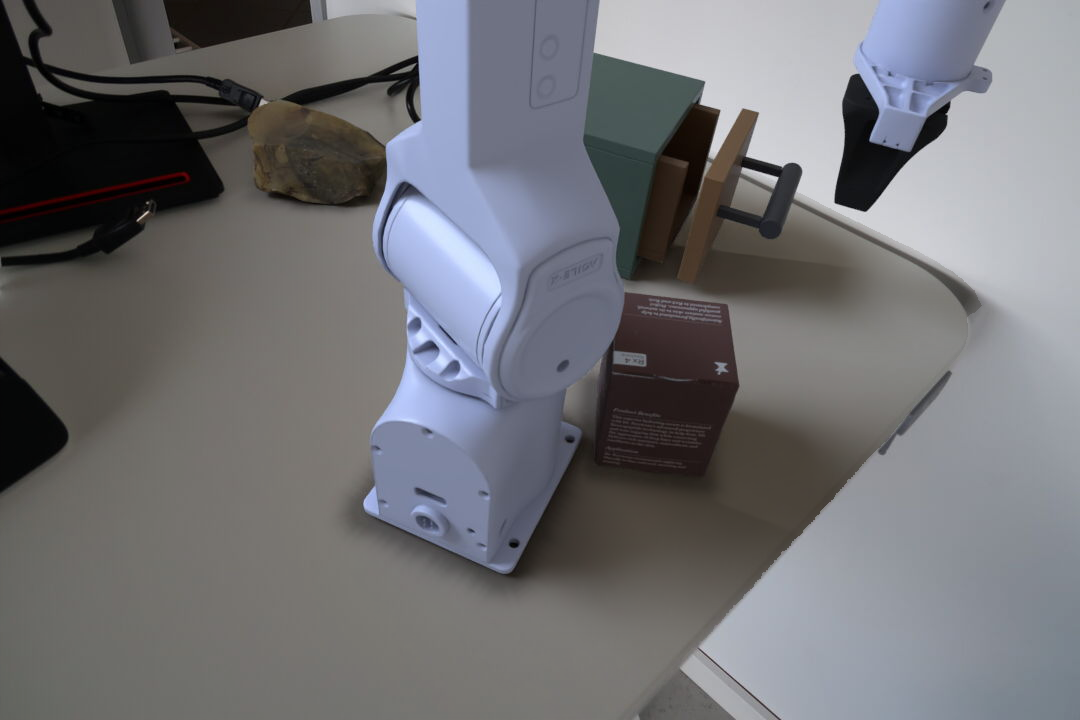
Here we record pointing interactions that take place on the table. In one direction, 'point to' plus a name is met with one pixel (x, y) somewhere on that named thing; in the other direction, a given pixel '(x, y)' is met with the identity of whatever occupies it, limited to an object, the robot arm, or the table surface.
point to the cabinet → (632, 138)
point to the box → (665, 386)
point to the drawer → (709, 189)
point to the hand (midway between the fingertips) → (851, 202)
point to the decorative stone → (313, 154)
